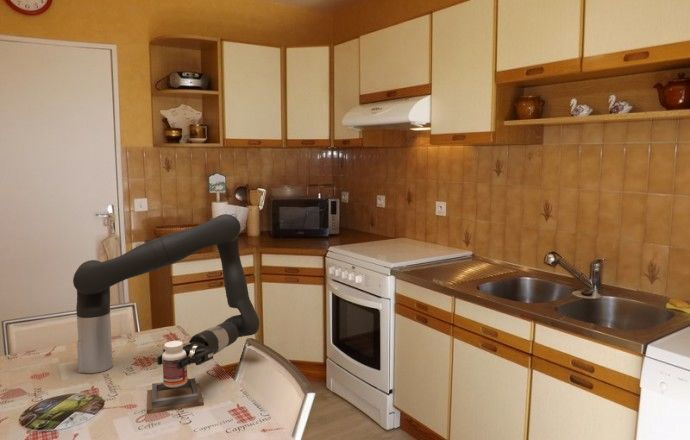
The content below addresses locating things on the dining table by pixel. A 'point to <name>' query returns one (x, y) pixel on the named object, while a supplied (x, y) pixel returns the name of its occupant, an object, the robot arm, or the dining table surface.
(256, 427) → the dining table surface
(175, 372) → the pill bottle
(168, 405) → the grey shallow rectangular tray
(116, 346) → the dining table surface
